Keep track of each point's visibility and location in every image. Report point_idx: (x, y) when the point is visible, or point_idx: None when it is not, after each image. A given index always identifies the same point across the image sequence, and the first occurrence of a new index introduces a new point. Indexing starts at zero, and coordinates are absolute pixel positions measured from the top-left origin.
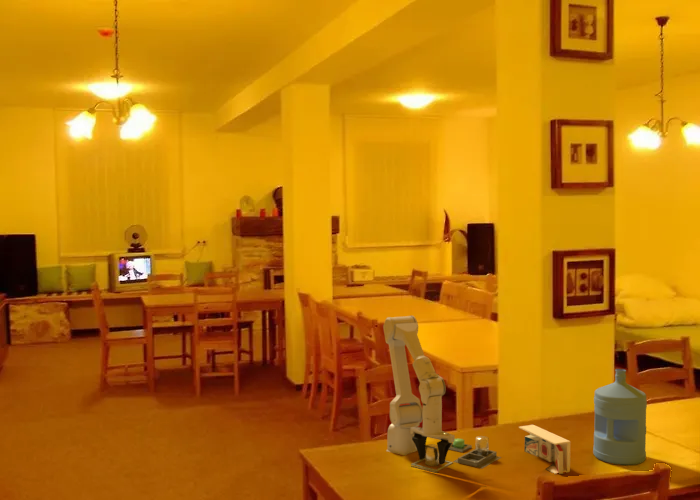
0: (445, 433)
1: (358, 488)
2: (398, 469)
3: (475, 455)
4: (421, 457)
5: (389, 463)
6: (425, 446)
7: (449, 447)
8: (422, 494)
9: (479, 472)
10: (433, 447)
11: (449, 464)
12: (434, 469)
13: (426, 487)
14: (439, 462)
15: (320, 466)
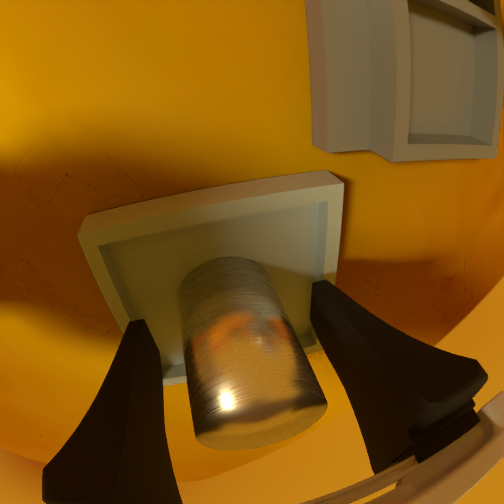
0: (460, 483)
1: (195, 470)
2: None
3: (447, 6)
4: (159, 364)
5: (40, 378)
6: (214, 447)
7: (428, 345)
8: (344, 412)
9: None
10: (291, 426)
11: (339, 231)
12: (306, 349)
13: (334, 396)
14: (317, 330)
15: (20, 453)
